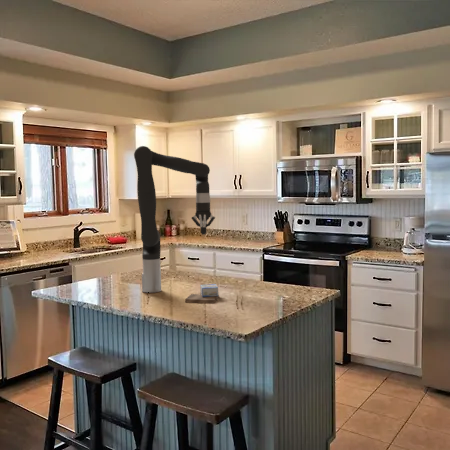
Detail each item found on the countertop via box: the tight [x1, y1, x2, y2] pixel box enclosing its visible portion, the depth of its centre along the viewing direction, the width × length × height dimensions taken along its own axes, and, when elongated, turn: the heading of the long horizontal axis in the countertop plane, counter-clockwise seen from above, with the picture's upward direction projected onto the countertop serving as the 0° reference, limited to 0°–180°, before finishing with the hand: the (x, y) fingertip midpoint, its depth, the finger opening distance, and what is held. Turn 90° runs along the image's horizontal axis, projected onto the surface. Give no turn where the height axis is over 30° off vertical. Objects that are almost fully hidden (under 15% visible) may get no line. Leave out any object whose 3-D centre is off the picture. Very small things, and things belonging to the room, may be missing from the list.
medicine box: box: [199, 283, 219, 297], centre depth 241 cm, size 8×4×9 cm
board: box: [184, 293, 220, 304], centre depth 237 cm, size 14×11×2 cm
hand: (203, 234), depth 262 cm, fingers closed
